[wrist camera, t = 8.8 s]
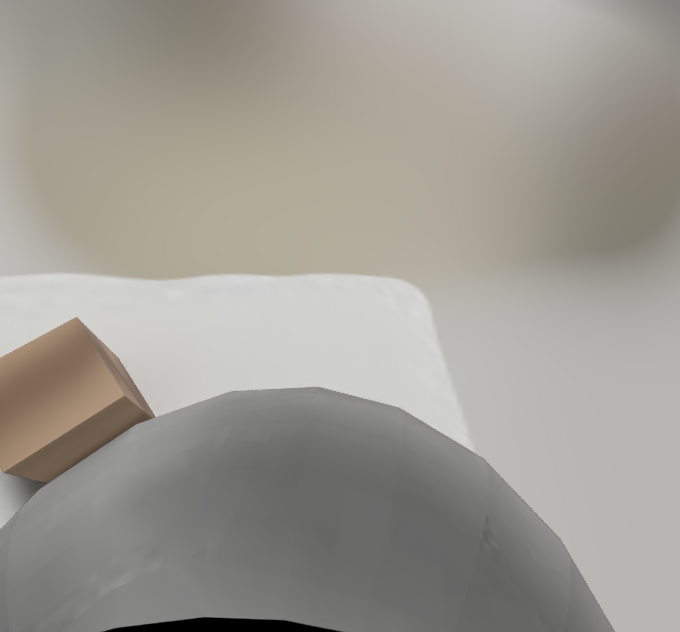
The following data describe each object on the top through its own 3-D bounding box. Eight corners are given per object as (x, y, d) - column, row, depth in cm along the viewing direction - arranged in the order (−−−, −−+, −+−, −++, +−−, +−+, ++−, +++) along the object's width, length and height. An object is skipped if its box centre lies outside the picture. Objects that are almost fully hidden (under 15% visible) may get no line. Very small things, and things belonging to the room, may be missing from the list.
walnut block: (160, 424, 22) (124, 395, 18) (68, 487, 20) (3, 472, 16) (119, 358, 24) (76, 316, 19) (30, 411, 22) (-39, 378, 18)
